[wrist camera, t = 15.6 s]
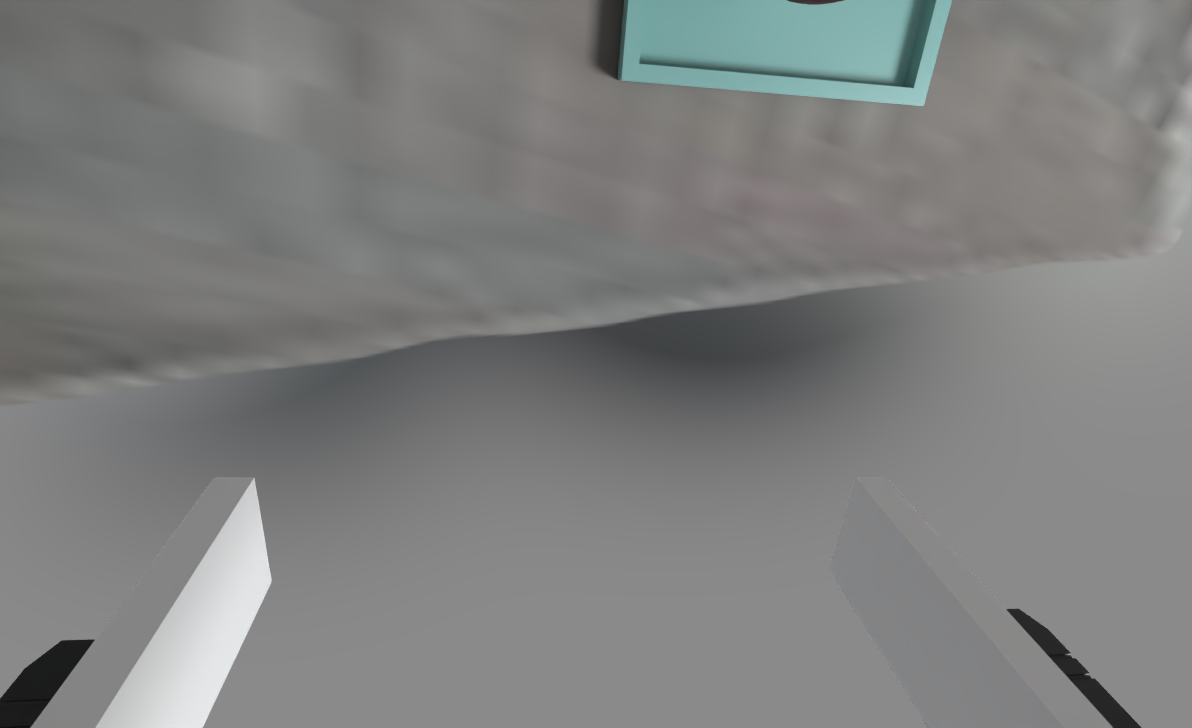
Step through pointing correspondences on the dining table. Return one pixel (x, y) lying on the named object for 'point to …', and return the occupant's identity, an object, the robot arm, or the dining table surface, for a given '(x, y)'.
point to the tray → (786, 46)
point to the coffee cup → (814, 1)
